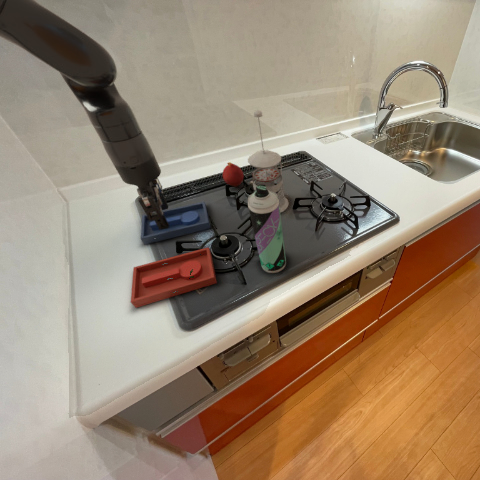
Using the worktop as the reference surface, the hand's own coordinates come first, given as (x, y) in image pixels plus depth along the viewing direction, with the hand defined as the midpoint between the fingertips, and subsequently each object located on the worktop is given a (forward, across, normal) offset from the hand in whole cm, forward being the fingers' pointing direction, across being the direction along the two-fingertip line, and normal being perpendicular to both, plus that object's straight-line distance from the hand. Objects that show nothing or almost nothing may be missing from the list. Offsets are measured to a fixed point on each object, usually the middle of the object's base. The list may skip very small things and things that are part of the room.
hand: (164, 218), depth 67 cm
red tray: (+3, +18, +1) cm, 18 cm away
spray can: (+3, +22, +21) cm, 31 cm away
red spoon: (+2, +18, +1) cm, 18 cm away
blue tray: (+3, 0, +2) cm, 4 cm away
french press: (+3, 0, +27) cm, 27 cm away
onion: (+3, -12, +19) cm, 23 cm away
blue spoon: (+2, 0, +2) cm, 3 cm away
